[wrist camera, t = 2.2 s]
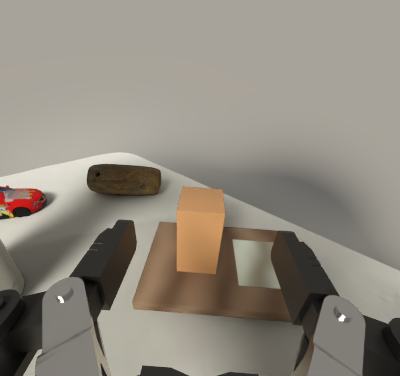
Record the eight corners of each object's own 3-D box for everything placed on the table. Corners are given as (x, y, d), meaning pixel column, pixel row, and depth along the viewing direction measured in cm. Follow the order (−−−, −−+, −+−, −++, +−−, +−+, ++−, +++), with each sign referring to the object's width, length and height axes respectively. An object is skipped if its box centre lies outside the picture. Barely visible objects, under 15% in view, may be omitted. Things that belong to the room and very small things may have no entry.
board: (133, 308, 23) (124, 259, 19) (160, 228, 35) (158, 187, 31) (321, 324, 23) (354, 277, 19) (282, 237, 35) (297, 198, 31)
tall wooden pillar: (176, 271, 26) (177, 210, 21) (181, 242, 30) (182, 186, 25) (215, 274, 26) (225, 214, 21) (214, 244, 30) (222, 189, 25)
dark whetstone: (87, 202, 41) (80, 173, 38) (98, 185, 47) (92, 159, 43) (160, 200, 43) (159, 172, 40) (161, 184, 49) (160, 159, 46)
